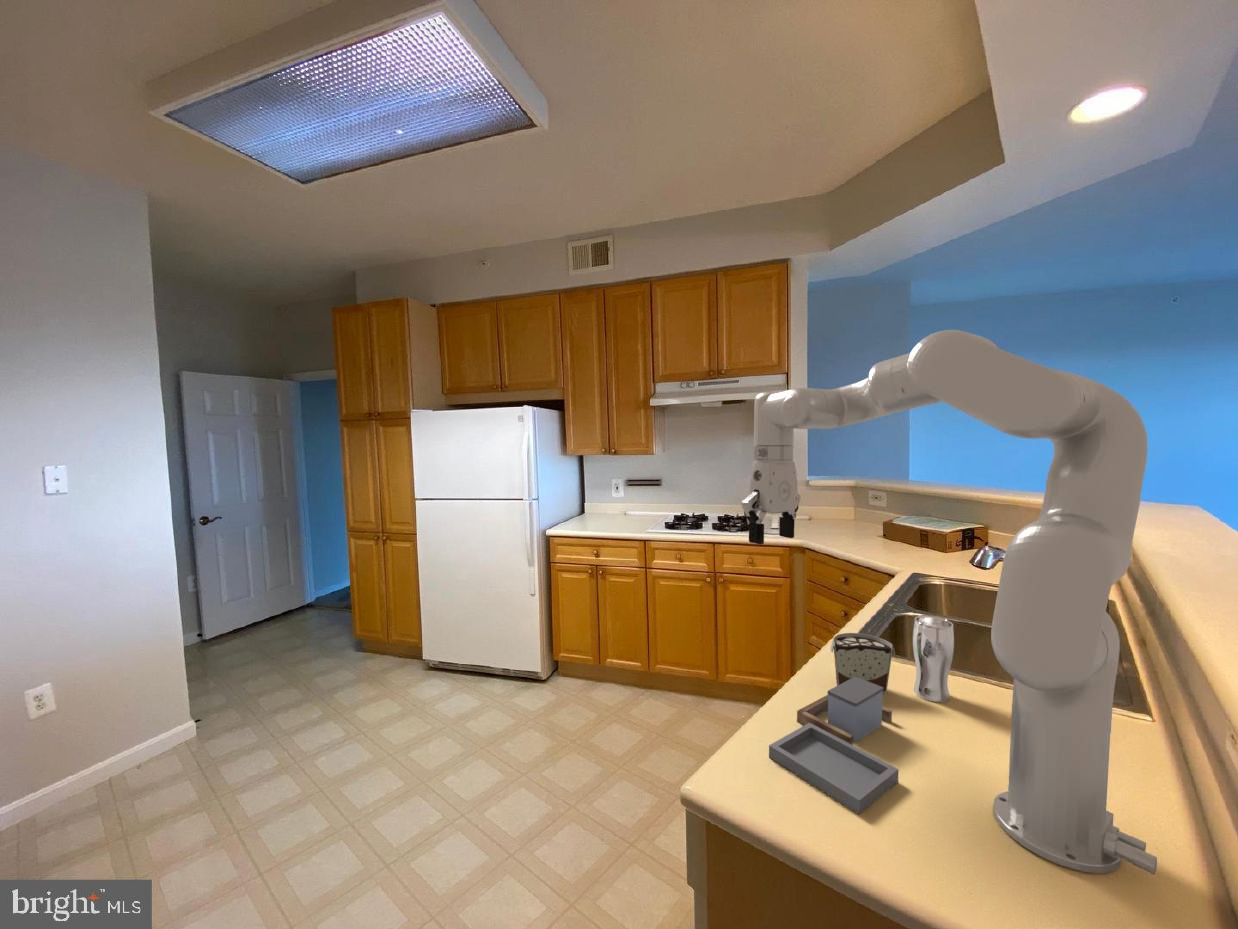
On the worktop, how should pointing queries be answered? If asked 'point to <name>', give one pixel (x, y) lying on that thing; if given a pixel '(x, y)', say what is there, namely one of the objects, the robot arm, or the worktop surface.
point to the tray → (834, 766)
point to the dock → (816, 708)
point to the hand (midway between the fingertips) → (771, 540)
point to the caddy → (855, 707)
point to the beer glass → (932, 657)
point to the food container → (862, 658)
